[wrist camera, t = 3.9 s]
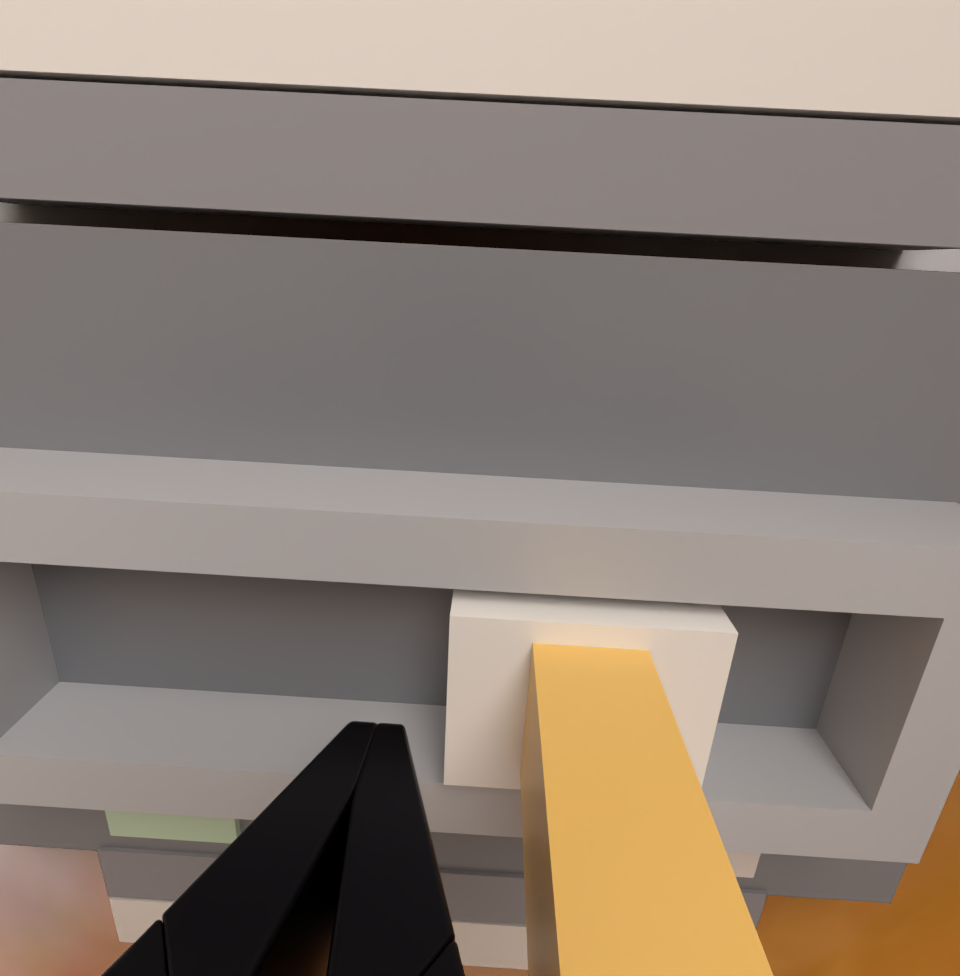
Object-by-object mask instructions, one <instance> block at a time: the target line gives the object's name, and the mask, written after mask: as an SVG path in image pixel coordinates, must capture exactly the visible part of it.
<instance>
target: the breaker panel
mask: <svg viewBox="0 0 960 976" xmlns="http://www.w3.org/2000/svg"><path fill="white" fill-rule="evenodd" d="M454 589H463V590H480V591H497V592H513V593H530V594H546V595H563V596H580V597H596V598H613V599H630V600H646V601H663V602H680V603H696V604H713V605H720V606H721V607H722V609H723V610H724V612H725V613H726V615H727V616H728V618H729V620H730V621H731V623H732V624H733V626H734V627H735V629H736V630H737V632H738V637H737V642H736V646H735V650H734V654H733V658H732V662H731V667H730V671H729V675H728V679H727V683H726V688H725V692H724V696H723V700H722V704H721V709H720V713H719V717H718V721H717V725H716V730H715V734H714V738H713V742H712V746H711V751H710V755H709V759H708V763H707V767H706V771H705V776H704V780H703V784H702V790H703V793H704V796H705V798H706V801H707V803H708V806H709V809H710V811H711V814H712V817H713V819H714V822H715V824H716V827H717V830H718V832H719V835H720V837H721V840H722V843H723V845H724V848H725V850H726V853H727V856H728V858H729V861H730V864H731V866H732V869H733V871H734V874H735V877H736V879H737V882H738V884H739V887H740V889H751V890H765V891H766V893H767V895H774V896H789V897H804V898H819V899H834V900H849V901H865V902H880V903H891V901H892V899H893V896H894V894H895V892H896V889H897V887H898V884H899V882H900V880H901V877H902V875H903V873H904V870H905V868H906V866H907V863H918V864H919V862H920V859H921V857H922V855H923V852H924V850H925V848H926V845H927V843H928V841H929V839H930V836H931V834H932V832H933V829H934V827H935V825H936V822H937V820H938V818H939V815H940V813H941V811H942V809H943V806H944V804H945V802H946V799H947V797H948V795H949V792H950V790H951V788H952V786H953V783H954V781H955V779H956V776H957V774H958V772H959V769H960V273H959V272H940V271H921V270H902V269H883V268H864V267H845V266H826V265H807V264H788V263H769V262H750V261H731V260H712V259H693V258H675V257H656V256H637V255H618V254H599V253H580V252H561V251H542V250H523V249H504V248H485V247H466V246H447V245H428V244H409V243H390V242H371V241H352V240H333V239H314V238H295V237H276V236H257V235H238V234H219V233H200V232H181V231H163V230H144V229H125V228H106V227H87V226H68V225H49V224H30V223H11V222H0V844H4V845H19V846H34V847H49V848H64V849H80V850H95V851H97V850H98V848H99V847H100V846H101V847H116V848H131V849H146V850H161V851H176V852H191V853H206V854H221V853H222V852H223V851H224V850H225V849H226V848H227V847H228V846H229V845H230V844H231V843H232V842H233V841H234V840H235V839H236V838H237V837H238V836H239V835H240V834H241V833H242V832H243V831H244V830H245V829H246V828H247V827H248V826H249V825H250V824H251V823H252V822H253V821H254V820H255V819H256V818H257V816H258V815H259V814H260V813H261V812H262V811H263V810H264V809H265V808H266V807H267V806H268V805H269V804H270V803H271V802H272V801H273V800H274V799H275V798H276V797H277V796H278V795H279V794H280V793H281V792H282V791H283V790H284V789H285V788H286V787H287V786H288V785H289V784H290V783H291V782H292V780H293V779H294V778H295V777H296V776H297V775H298V774H299V773H300V772H301V771H302V770H303V769H304V768H305V767H306V766H307V765H308V764H309V763H310V762H311V761H312V760H313V759H314V758H315V757H316V756H317V755H318V754H319V753H320V752H321V751H322V750H323V749H324V748H325V747H326V746H327V744H328V743H329V742H330V741H331V740H332V739H333V738H334V737H335V736H336V735H337V734H338V733H339V732H340V731H341V730H342V729H343V728H344V727H345V726H346V725H347V724H348V723H350V722H352V721H362V722H374V723H376V724H379V723H391V724H402V725H403V726H404V727H405V729H406V733H407V737H408V741H409V745H410V750H411V754H412V758H413V762H414V766H415V770H416V775H417V779H418V783H419V787H420V791H421V796H422V800H423V804H424V808H425V812H426V816H427V821H428V825H429V829H430V833H431V837H432V842H433V846H434V850H435V854H436V858H437V862H438V867H439V869H448V870H464V871H479V872H494V873H509V874H524V856H523V830H522V804H521V790H520V789H504V788H489V787H473V786H457V785H444V758H445V731H446V704H447V677H448V650H449V623H450V611H451V604H452V597H453V590H454Z"/></svg>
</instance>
